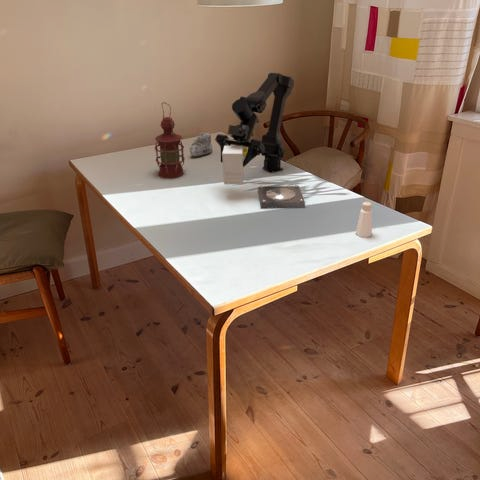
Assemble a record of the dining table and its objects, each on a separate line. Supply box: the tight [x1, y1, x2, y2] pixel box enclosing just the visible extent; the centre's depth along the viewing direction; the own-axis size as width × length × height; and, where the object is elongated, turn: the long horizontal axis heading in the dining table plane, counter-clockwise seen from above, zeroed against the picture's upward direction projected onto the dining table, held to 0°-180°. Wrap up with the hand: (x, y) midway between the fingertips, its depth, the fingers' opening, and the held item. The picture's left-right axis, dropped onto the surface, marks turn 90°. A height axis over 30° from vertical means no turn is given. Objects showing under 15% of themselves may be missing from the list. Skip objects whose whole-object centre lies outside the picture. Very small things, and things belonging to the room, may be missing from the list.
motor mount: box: [257, 184, 306, 209], centre depth 196 cm, size 16×16×3 cm
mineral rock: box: [189, 132, 213, 157], centre depth 242 cm, size 13×11×10 cm
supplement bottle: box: [243, 147, 248, 159], centre depth 239 cm, size 5×5×10 cm
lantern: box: [154, 101, 185, 179], centre depth 214 cm, size 12×12×30 cm
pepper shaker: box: [355, 201, 373, 238], centre depth 168 cm, size 5×5×11 cm
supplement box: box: [222, 145, 245, 185], centre depth 193 cm, size 7×7×13 cm
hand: (232, 164), depth 193 cm, fingers closed on supplement box, 9 cm apart
